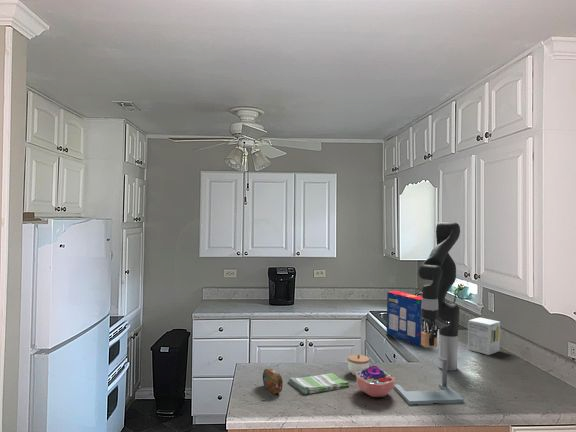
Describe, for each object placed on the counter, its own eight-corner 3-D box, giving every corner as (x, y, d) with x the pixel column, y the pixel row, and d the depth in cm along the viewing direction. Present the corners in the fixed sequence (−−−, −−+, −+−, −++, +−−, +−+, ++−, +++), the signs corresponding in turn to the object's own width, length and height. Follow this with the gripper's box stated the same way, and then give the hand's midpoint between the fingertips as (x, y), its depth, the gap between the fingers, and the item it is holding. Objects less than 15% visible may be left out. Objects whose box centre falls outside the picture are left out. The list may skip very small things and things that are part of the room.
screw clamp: (392, 386, 208) (392, 356, 208) (441, 384, 211) (442, 355, 211) (409, 404, 188) (410, 372, 188) (463, 402, 191) (464, 370, 191)
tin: (261, 384, 207) (262, 366, 207) (268, 383, 208) (268, 365, 208) (277, 397, 193) (277, 377, 193) (283, 395, 195) (284, 376, 195)
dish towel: (287, 382, 211) (288, 375, 211) (330, 375, 221) (330, 368, 221) (305, 396, 196) (305, 388, 196) (350, 388, 206) (350, 380, 206)
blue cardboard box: (428, 344, 276) (429, 298, 276) (418, 346, 272) (419, 299, 272) (395, 333, 300) (396, 291, 300) (386, 334, 296) (387, 291, 296)
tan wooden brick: (420, 344, 214) (421, 331, 214) (433, 343, 215) (433, 331, 215) (424, 347, 210) (425, 334, 209) (437, 347, 210) (437, 334, 210)
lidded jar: (359, 379, 216) (359, 359, 216) (342, 372, 224) (343, 353, 224) (373, 374, 223) (374, 355, 223) (357, 368, 231) (357, 349, 231)
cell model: (355, 402, 190) (355, 375, 190) (354, 384, 210) (355, 359, 210) (396, 405, 188) (397, 378, 187) (392, 386, 207) (392, 362, 207)
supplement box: (488, 355, 257) (489, 324, 257) (467, 349, 267) (467, 319, 267) (500, 351, 265) (500, 321, 265) (478, 345, 276) (479, 317, 275)
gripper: (416, 304, 218) (415, 339, 219) (428, 311, 204) (427, 349, 205) (431, 304, 219) (430, 339, 220) (444, 311, 205) (443, 348, 206)
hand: (429, 343), depth 212 cm, fingers closed on tan wooden brick, 4 cm apart
